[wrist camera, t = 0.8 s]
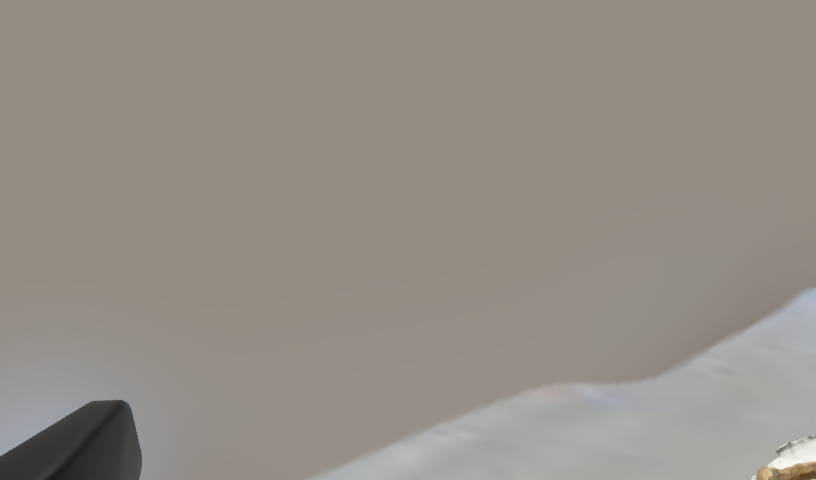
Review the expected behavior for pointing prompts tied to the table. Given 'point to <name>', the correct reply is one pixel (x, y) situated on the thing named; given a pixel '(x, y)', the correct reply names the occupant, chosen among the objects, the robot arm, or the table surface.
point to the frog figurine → (792, 462)
